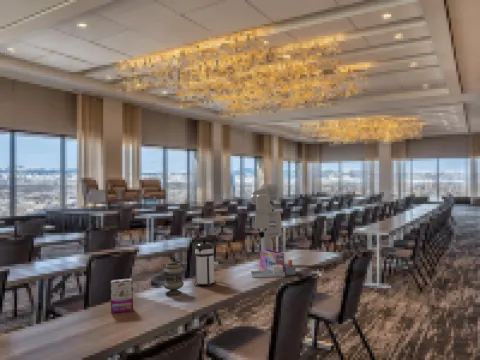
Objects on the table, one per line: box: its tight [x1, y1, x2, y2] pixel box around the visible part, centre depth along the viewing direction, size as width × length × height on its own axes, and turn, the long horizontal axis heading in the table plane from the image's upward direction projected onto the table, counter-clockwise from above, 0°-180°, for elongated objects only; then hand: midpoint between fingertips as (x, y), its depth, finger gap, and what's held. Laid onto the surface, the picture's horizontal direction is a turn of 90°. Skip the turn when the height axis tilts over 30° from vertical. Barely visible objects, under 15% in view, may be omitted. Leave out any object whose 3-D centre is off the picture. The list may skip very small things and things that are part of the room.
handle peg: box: [287, 259, 293, 266], centre depth 286 cm, size 3×3×10 cm
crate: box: [273, 265, 283, 273], centre depth 282 cm, size 7×6×7 cm
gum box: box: [259, 249, 285, 271], centre depth 303 cm, size 24×8×14 cm, turn 29°
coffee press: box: [193, 238, 217, 288], centre depth 262 cm, size 17×16×30 cm
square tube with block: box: [284, 264, 297, 276], centre depth 288 cm, size 12×7×6 cm, turn 2°
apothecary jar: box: [162, 262, 185, 297], centre depth 240 cm, size 12×12×18 cm
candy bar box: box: [110, 277, 134, 314], centre depth 208 cm, size 11×5×16 cm, turn 105°
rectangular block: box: [250, 270, 286, 278], centre depth 282 cm, size 10×23×3 cm, turn 92°
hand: (262, 237), depth 282 cm, fingers closed
